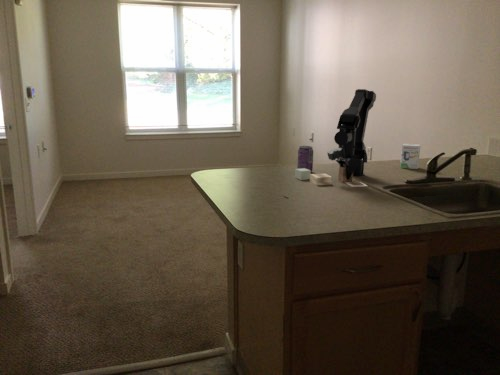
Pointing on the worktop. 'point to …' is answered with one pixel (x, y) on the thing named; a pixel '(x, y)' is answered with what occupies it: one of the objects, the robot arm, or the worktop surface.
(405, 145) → the ink box
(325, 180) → the beech base
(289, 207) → the worktop surface
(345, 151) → the robot arm
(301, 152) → the beverage can
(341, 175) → the walnut block
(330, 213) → the worktop surface
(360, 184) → the swatch
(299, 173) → the sage block
